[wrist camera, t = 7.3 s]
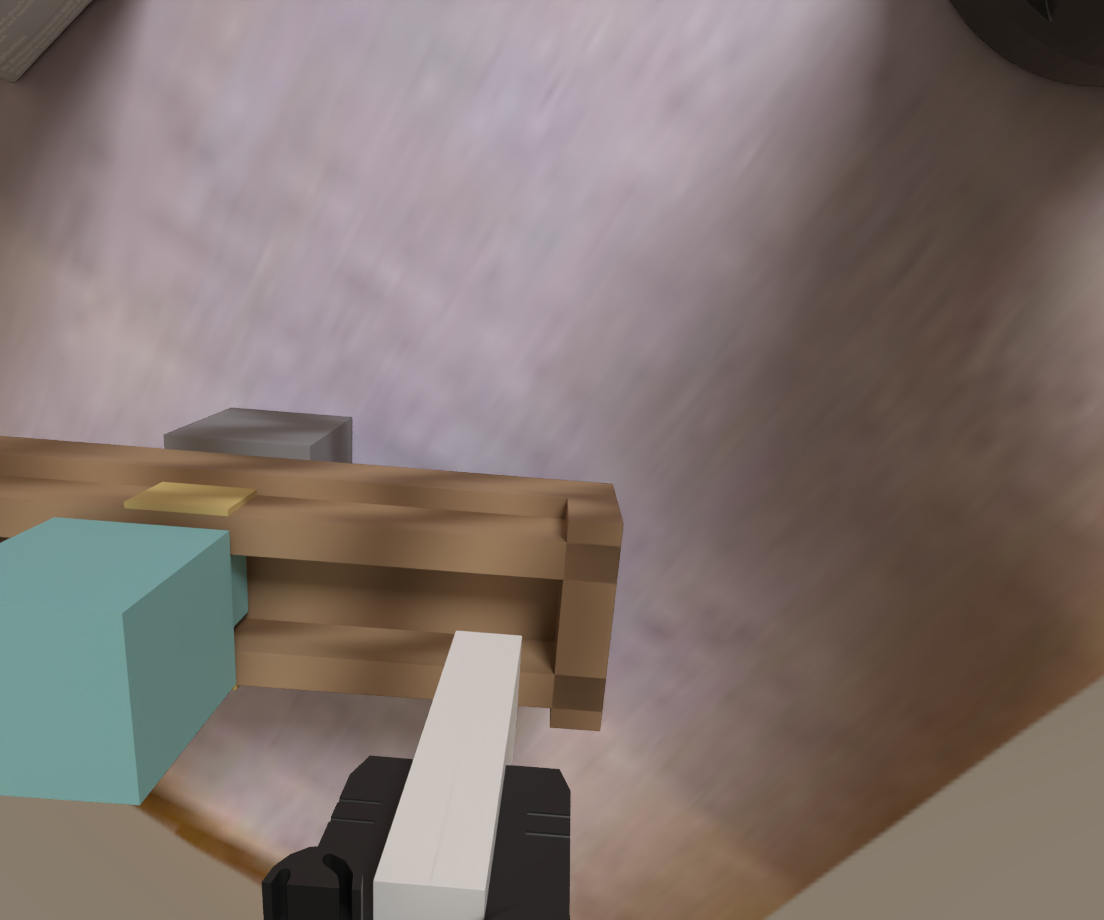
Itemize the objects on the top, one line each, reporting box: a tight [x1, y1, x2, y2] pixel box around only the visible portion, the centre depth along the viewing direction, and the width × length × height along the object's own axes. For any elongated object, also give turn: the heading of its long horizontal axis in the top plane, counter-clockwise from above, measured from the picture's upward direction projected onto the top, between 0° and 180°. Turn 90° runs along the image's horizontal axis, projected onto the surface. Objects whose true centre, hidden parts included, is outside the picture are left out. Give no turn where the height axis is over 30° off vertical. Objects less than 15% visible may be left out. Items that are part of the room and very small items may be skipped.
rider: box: [0, 517, 248, 805], centre depth 19 cm, size 5×5×7 cm
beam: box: [0, 408, 623, 731], centre depth 23 cm, size 26×8×13 cm, turn 85°
